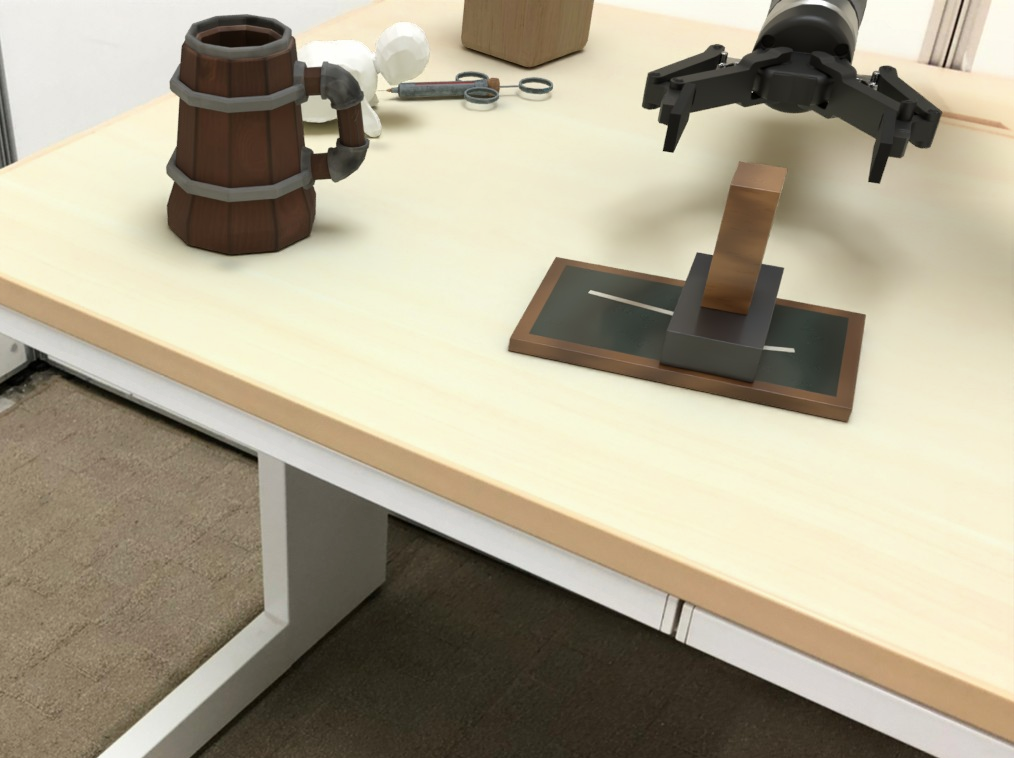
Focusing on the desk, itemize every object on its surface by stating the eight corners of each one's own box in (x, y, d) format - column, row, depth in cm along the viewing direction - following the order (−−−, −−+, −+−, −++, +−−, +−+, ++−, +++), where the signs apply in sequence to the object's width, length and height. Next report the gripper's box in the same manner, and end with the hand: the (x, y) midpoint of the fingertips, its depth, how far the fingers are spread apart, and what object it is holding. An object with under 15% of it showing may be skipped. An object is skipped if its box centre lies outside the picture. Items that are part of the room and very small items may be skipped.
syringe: (363, 85, 124) (364, 68, 123) (541, 80, 125) (543, 62, 124) (374, 114, 118) (375, 96, 117) (561, 108, 119) (563, 90, 118)
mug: (157, 251, 96) (143, 53, 87) (187, 186, 105) (178, 1, 96) (358, 264, 95) (367, 64, 85) (371, 197, 104) (381, 9, 94)
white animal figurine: (292, 168, 116) (447, 110, 112) (257, 83, 110) (419, 19, 107) (293, 133, 122) (440, 77, 118) (260, 50, 117) (413, -11, 113)
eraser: (775, 299, 88) (818, 148, 81) (753, 383, 80) (799, 223, 73) (689, 283, 90) (724, 134, 83) (659, 363, 82) (695, 205, 75)
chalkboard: (861, 326, 87) (866, 313, 87) (847, 422, 78) (852, 408, 78) (553, 268, 94) (555, 255, 93) (507, 350, 85) (509, 337, 84)
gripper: (956, 120, 98) (953, 230, 83) (637, 78, 106) (582, 172, 91) (991, 21, 93) (994, 119, 78) (654, -15, 101) (599, 67, 86)
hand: (773, 148), depth 84 cm, fingers open, 13 cm apart
